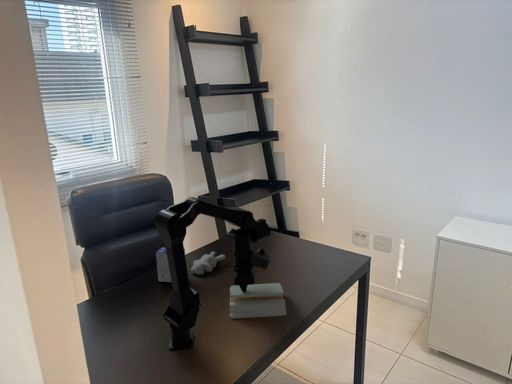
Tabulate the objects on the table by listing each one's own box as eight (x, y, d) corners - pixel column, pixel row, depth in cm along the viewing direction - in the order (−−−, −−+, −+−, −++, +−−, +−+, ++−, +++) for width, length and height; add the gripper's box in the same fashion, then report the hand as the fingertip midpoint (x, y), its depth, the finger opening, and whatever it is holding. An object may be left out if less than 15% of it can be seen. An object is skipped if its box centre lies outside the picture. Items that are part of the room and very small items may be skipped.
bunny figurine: (185, 263, 148) (210, 246, 159) (187, 274, 150) (211, 256, 161) (202, 269, 143) (227, 251, 154) (204, 280, 145) (228, 262, 156)
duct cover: (283, 295, 120) (283, 292, 120) (230, 298, 119) (230, 295, 119) (279, 285, 130) (279, 283, 130) (231, 288, 129) (230, 285, 129)
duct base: (286, 315, 119) (286, 305, 118) (230, 318, 118) (229, 309, 117) (280, 289, 135) (279, 280, 134) (230, 292, 134) (229, 283, 133)
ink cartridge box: (187, 276, 146) (185, 242, 142) (182, 283, 140) (179, 248, 137) (164, 274, 148) (160, 240, 144) (158, 281, 142) (154, 246, 139)
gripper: (270, 258, 110) (271, 305, 114) (264, 234, 128) (266, 275, 132) (232, 260, 109) (235, 307, 113) (232, 236, 127) (234, 277, 131)
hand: (244, 290), depth 122 cm, fingers closed, pressing on duct cover
